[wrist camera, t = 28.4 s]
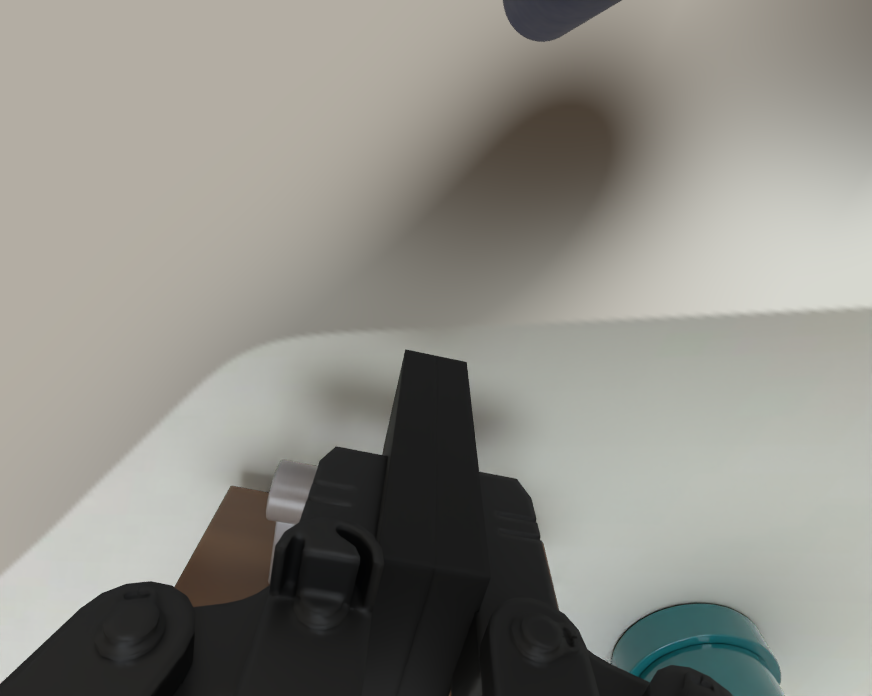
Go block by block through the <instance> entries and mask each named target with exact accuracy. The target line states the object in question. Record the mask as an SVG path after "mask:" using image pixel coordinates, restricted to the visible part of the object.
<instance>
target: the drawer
mask: <svg viewBox="0 0 872 696" xmlns="http://www.w3.org/2000/svg"><path fill="white" fill-rule="evenodd" d="M317 468H318V466H315V465H309V464H304V463H298V462H293V461H288V460H281V461H280V463H279V465H278V466H277V469H276V471H275V474H274V477H273V480H272V483H271V487H270V491H269V492H263V491H258V490H252V489H247V488H241V487H236V486H230V488H229V490H228V492H227V493H226V495H225V497H224V499H223V501H222V502H221V504H220V506H219V508H218V510H217V511H216V513H215V515H214V517H213V519H212V520H211V522H210V524H209V526H208V528H207V529H206V531H205V533H204V535H203V537H202V538H201V540H200V542H199V544H198V546H197V547H196V549H195V551H194V553H193V555H192V556H191V558H190V560H189V562H188V564H187V565H186V567H185V569H184V571H183V573H182V574H181V576H180V578H179V580H178V582H177V583H176V585H175V588H176V589H178V590H179V591H181V592H182V593H184V594H185V595H187V596H188V598H189V600H190V602H191V604H192V606H193V607H198V606H206V605H214V604H223V603H229V602H233V601H238V600H242V599H245V598H247V597H250V596H252V595H254V594H257V593H258V592H260V591H261V590H263V589H264V588H266V587H267V586H269V585H270V580H271V572H272V565H273V558H274V551H275V545H276V544H277V542H278V541H279V539H280V538H281V536H282V535H283V533H284V532H285V531H286V530H288V529H289V528H291V527H293V526H294V525H296V524H297V523H299V521H300V518H301V515H302V512H303V509H304V506H305V503H306V500H307V498H308V494H309V491H310V488H311V485H312V484H313V479H314V477H315V474H316V471H317ZM542 545H543V549H544V544H543V542H542ZM544 553H545V549H544ZM545 557H546V553H545ZM546 562H547V566H548V561H547V557H546ZM548 570H549V566H548ZM549 574H550V570H549ZM550 578H551V574H550ZM551 582H552V578H551ZM552 587H553V582H552ZM553 591H554V587H553ZM554 595H555V591H554ZM555 599H556V595H555ZM556 603H557V599H556ZM557 607H558V604H557ZM558 610H559V608H558ZM449 696H451V691H450V694H449Z"/></svg>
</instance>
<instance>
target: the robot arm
mask: <svg viewBox="0 0 872 696" xmlns="http://www.w3.org/2000/svg"><path fill="white" fill-rule="evenodd" d="M450 691H451V696H733V695H732V694H731V693H730V692H729V691H728V690H727V689H725V688H724V687H723V686H721V685H720V684H719V683H717V682H716V681H715V680H714V679H712V678H711V677H710V676H708V675H705V674H703V673H701V672H699V671H697V670H694V669H692V668H690V667H684V666H676V665H670V666H667V667H665V668H662V669H659V670H657V672H656V674H655V675H654V677H653V679H652V680H651V682H648V681H646V680H644V679H642V678H640V677H637V676H635V675H633V674H631V673H629V672H627V671H625V670H623V669H620V668H618V667H616V666H614V665H612V664H610V663H608V662H606V661H604V660H603V659H601V658H599V657H597V656H596V655H594V654H593V653H591V652H590V651H589V650H588V649H587V647H586V645H585V643H584V641H583V639H582V637H581V634H580V632H579V630H578V629H577V628H576V627H575V625H574V624H573V623H572V622H571V621H570V620H569V619H568V618H567V616H566V615H565V614H563V613H562V612H560V611H559V610H558V607H557V603H556V599H555V595H554V591H553V587H552V582H551V578H550V574H549V570H548V566H547V562H546V557H545V553H544V549H543V545H542V541H541V540H540V532H539V528H538V524H537V523H536V516H535V512H534V508H533V503H532V499H531V497H530V496H529V495H528V493H527V492H526V491H525V489H524V488H523V487H522V485H521V484H520V483H519V481H518V480H517V479H514V478H509V477H504V476H498V475H493V474H488V473H483V472H479V467H478V459H477V450H476V441H475V432H474V423H473V414H472V406H471V397H470V388H469V379H468V370H467V362H463V361H458V360H454V359H449V358H444V357H439V356H434V355H429V354H425V353H420V352H415V351H410V350H405V353H404V358H403V362H402V367H401V371H400V376H399V380H398V385H397V389H396V394H395V398H394V403H393V407H392V412H391V416H390V421H389V425H388V430H387V434H386V439H385V443H384V449H383V455H378V454H373V453H368V452H362V451H357V450H352V449H347V448H341V447H335V448H334V449H333V450H332V451H331V452H329V453H328V454H327V455H326V456H325V457H324V458H322V459H321V460H320V462H319V465H318V468H317V471H316V474H315V477H314V479H313V484H312V485H311V488H310V491H309V494H308V498H307V500H306V503H305V506H304V509H303V512H302V515H301V518H300V521H299V523H297V524H296V525H294V526H293V527H291V528H289V529H288V530H286V531H285V532H284V533H283V535H282V536H281V538H280V539H279V541H278V542H277V544H276V545H275V551H274V558H273V565H272V572H271V580H270V585H269V586H267V587H266V588H264V589H263V590H261V591H260V592H258V593H257V594H254V595H252V596H250V597H247V598H245V599H242V600H238V601H233V602H229V603H223V604H214V605H206V606H198V607H193V606H192V604H191V602H190V600H189V598H188V596H187V595H185V594H184V593H182V592H181V591H179V590H178V589H176V588H175V587H173V586H171V585H166V584H161V583H156V582H151V581H150V582H140V583H131V584H125V585H122V586H120V587H117V588H114V589H112V590H109V591H107V592H104V593H102V594H100V595H99V596H97V597H96V598H95V599H93V600H92V601H90V602H89V603H88V604H86V605H85V606H83V607H82V608H80V609H79V610H78V611H77V612H76V613H75V614H74V615H73V616H72V617H71V618H70V619H69V620H68V621H67V622H66V623H65V624H63V625H62V626H61V627H60V628H59V629H58V630H57V631H56V632H55V633H54V634H53V635H52V636H51V637H50V638H49V639H48V640H46V641H45V642H44V643H43V644H42V645H41V646H40V647H39V648H38V649H37V650H36V651H35V652H34V653H33V654H32V655H30V656H29V657H28V658H27V659H26V660H25V661H24V662H23V663H22V664H21V665H20V666H19V667H18V668H17V669H16V670H15V671H13V672H12V673H11V674H10V675H9V676H8V677H7V678H6V679H5V680H4V681H3V682H2V683H1V684H0V696H449V694H450Z"/></svg>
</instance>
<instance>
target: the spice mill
mask: <svg viewBox="0 0 872 696" xmlns="http://www.w3.org/2000/svg"><path fill="white" fill-rule="evenodd" d="M612 665H614V666H616V667H618V668H620V669H623V670H625V671H627V672H629V673H631V674H633V675H635V676H637V677H640V678H642V679H644V680H646V681H648V682H651V680H652V679H653V677H654V675H655V674H656V672H657V670H659V669H662V668H665V667H667V666H670V665H676V666H684V667H690V668H692V669H694V670H697V671H699V672H701V673H703V674H705V675H708V676H710V677H711V678H712V679H714V680H715V681H716V682H717V683H719V684H720V685H721V686H723V687H724V688H725V689H727V690H728V691H729V692H730V693H731V694H732V695H733V696H785V694H784V692H783V690H782V689H781V687H780V683H781V672H780V667H779V664H778V662H777V660H776V658H775V657H774V655H773V653H772V652H771V650H770V648H769V647H768V645H767V643H766V642H765V640H764V638H763V637H762V635H761V634H760V632H759V630H758V629H757V627H756V626H755V625H754V623H753V622H751V621H750V620H749V619H748V618H747V617H745V616H744V615H743V614H741V613H739V612H737V611H735V610H733V609H730V608H727V607H724V606H719V605H713V604H698V603H697V604H685V605H679V606H674V607H670V608H666V609H663V610H660V611H658V612H655V613H653V614H651V615H649V616H647V617H645V618H643V619H642V620H640V621H638V622H637V623H636V624H634V625H633V626H632V627H631V628H630V629H629V630H627V631H626V632H625V634H624V635H623V636H622V637H621V638H620V640H619V642H618V643H617V645H616V647H615V649H614V652H613V657H612Z"/></svg>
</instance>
